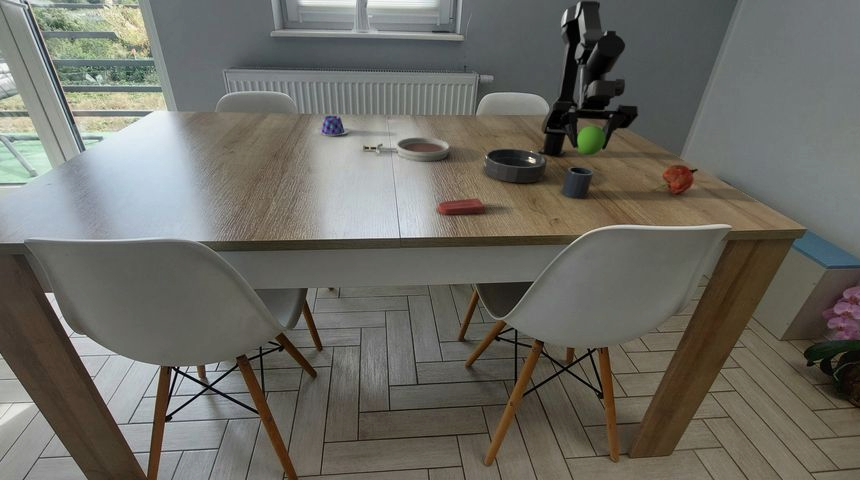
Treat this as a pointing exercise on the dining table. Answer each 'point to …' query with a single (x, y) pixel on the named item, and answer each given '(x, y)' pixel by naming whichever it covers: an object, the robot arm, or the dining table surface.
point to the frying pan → (418, 149)
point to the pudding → (332, 126)
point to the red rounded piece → (678, 178)
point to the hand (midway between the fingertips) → (589, 148)
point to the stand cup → (577, 182)
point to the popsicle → (463, 206)
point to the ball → (590, 140)
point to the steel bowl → (514, 165)
